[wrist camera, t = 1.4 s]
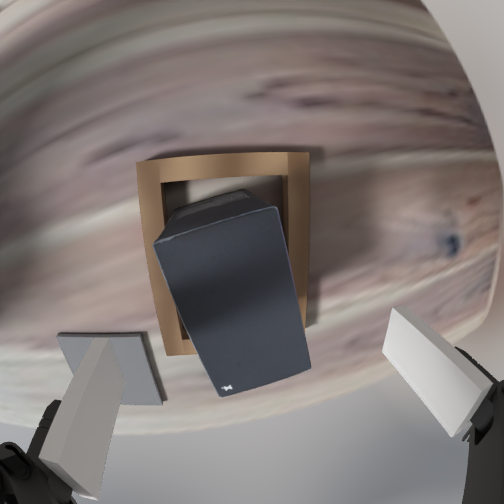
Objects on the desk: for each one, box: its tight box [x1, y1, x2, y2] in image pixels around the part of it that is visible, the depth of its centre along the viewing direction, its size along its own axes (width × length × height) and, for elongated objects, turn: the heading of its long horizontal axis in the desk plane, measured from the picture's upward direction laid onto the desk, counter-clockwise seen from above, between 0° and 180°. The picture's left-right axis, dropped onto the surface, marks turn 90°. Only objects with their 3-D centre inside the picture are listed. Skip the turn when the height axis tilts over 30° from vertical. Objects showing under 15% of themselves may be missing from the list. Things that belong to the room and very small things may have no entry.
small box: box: [152, 189, 311, 398], centre depth 19 cm, size 11×6×10 cm, turn 15°
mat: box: [56, 333, 163, 405], centre depth 25 cm, size 10×10×1 cm
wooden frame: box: [136, 152, 310, 356], centre depth 23 cm, size 13×17×2 cm
